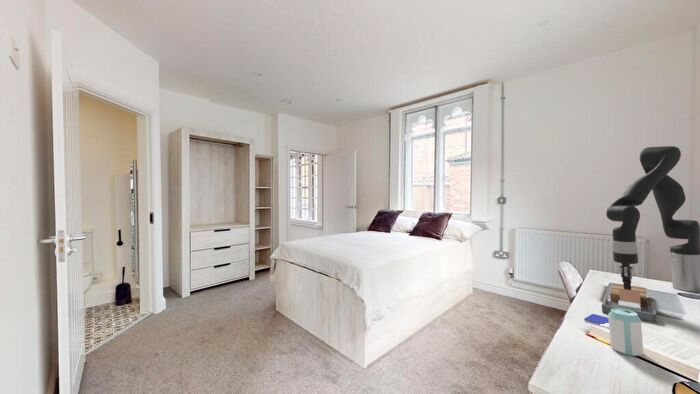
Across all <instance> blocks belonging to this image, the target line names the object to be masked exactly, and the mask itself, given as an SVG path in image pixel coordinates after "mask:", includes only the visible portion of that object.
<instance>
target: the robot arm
mask: <svg viewBox="0 0 700 394" xmlns="http://www.w3.org/2000/svg"><path fill="white" fill-rule="evenodd" d="M681 153H682V152H681V150H680V147H677V146H674V145H673V146H671V145H668V146H667V145H666V146H664V145H663V146H649V147H645V148H643V149H641V150H640V153H639V162H640V164H641V167H642V169H643V172H644V175H642V176H641V177H639V178H637V179H635V180H634V181H633V182H631V183H630V184H629V185H628V187H627V188H626V190H625V191H624V192H623V194H622V195H621V196H619V198H617V199H616V200H615V201H613V203H611V204H610V205H609V207H607V209H606V213H605V215H606V218H607V219H608V220H610V221H612V222H620V223H621V226H618V227H614V228H612V255H613V259H612V260H613V262H615V263H618V264H621V265H619V271H620V277H621V279H622V283H623V284H622V285H624V289H627V290H631V286H632V279H633V272H634V271H633V269H634V267H633V266H630V265H637V264H639V253H638V244H637V238H636V236H637V235H636V232H637V228H638V226H639V225H638V224H639V222H640V218H641V213H640V210H639V209H638V208H637V207H638V206H641V205H643V203H644V202H645V201H646V199H647V198H648V196H649V194H650V193H651V192H652V194H653V197H654V200H655V203H656V206H657V208H658V211H659V214H660V217H661V223H662V228H663V232H664V234H665V236H666V237H668V238H669V239H673V240H674V239H675V240H676V239H677V240H678V239H679V240H687V242H685V243H683V244H678V245H676V244H675V245H672V246H670V247H669V253H670V256H669V257H670V266H671V267H670V268H671V281H672V283H671V285H672V288H674V289H676V290H678V291H679V290H680V291H684V292H691V293H692V292H693V293H700V223H699V222H698V221H697V220H692V219H674V218H673V217H674V215H675V214H676V213H677V211H678V210H679V209H680V208H682V206H684V204H685V202H686V194H685V190H684V188H683V186H682V185H681V184H680V183H679V182H678V181H677V180H676V179H674V178H673V177H671V176H670V175H669V173H670V172H671V171H672V170H673V169H675V167H676V165H677V164H678V163H679V161H680V160H681V156H682V154H681Z"/></svg>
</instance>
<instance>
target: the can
mask: <svg viewBox="0 0 700 394" xmlns="http://www.w3.org/2000/svg"><path fill="white" fill-rule="evenodd" d="M607 315H608V317H607V318H609V328H608V329H609V332H608V333H609V345H610V348H612V349H614V350H615V351H616V352H618V353H620V354H622V355H626V356H631V357H637V356H638V357H639V356H642V355H644V345H643V344H644V343H643V341H644V340H643V331H642V328H643V327H642V320H641V319H640V318H639V317H638V316H637V315H638V314H637V313H635V312H633V311H630V310H627V309H621V308H612V309H611V312H610V313H609V314H608V313H607Z"/></svg>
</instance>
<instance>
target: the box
mask: <svg viewBox="0 0 700 394" xmlns="http://www.w3.org/2000/svg"><path fill="white" fill-rule="evenodd" d="M608 299H609V298H608V294H604V296H603V300H602V303H601V313H603V314H607V315H608V314H609V313H610V312H611V309H612V308H619V303H618V302H613V301H611V300H608ZM650 303H651V307H649V306H648V307H642V306H641V311H636V310H630V309H627V310H630V311H633V312H635V313H637V314H638V315H637V316H638V317H639V318H640V319H641V321H643V322H644V321H645V322H648V323H653V324H657V323H658V319H657V318H658V317H657V312H656V311H657V310H656V306H655V305H656V304H655V302H653V301H651V302H650ZM621 309H625V308H621Z"/></svg>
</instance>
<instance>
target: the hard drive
mask: <svg viewBox="0 0 700 394" xmlns="http://www.w3.org/2000/svg"><path fill="white" fill-rule="evenodd" d="M583 320H584V322H587V323H588V324H589V323H590V324H592V325H593V324H594V325H597V326H599V325H600V324H605V323H609V318H608V317H607V316H603V315H598V314H595V313H591V314H589V315H588V316H586V317H584V319H583Z"/></svg>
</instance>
